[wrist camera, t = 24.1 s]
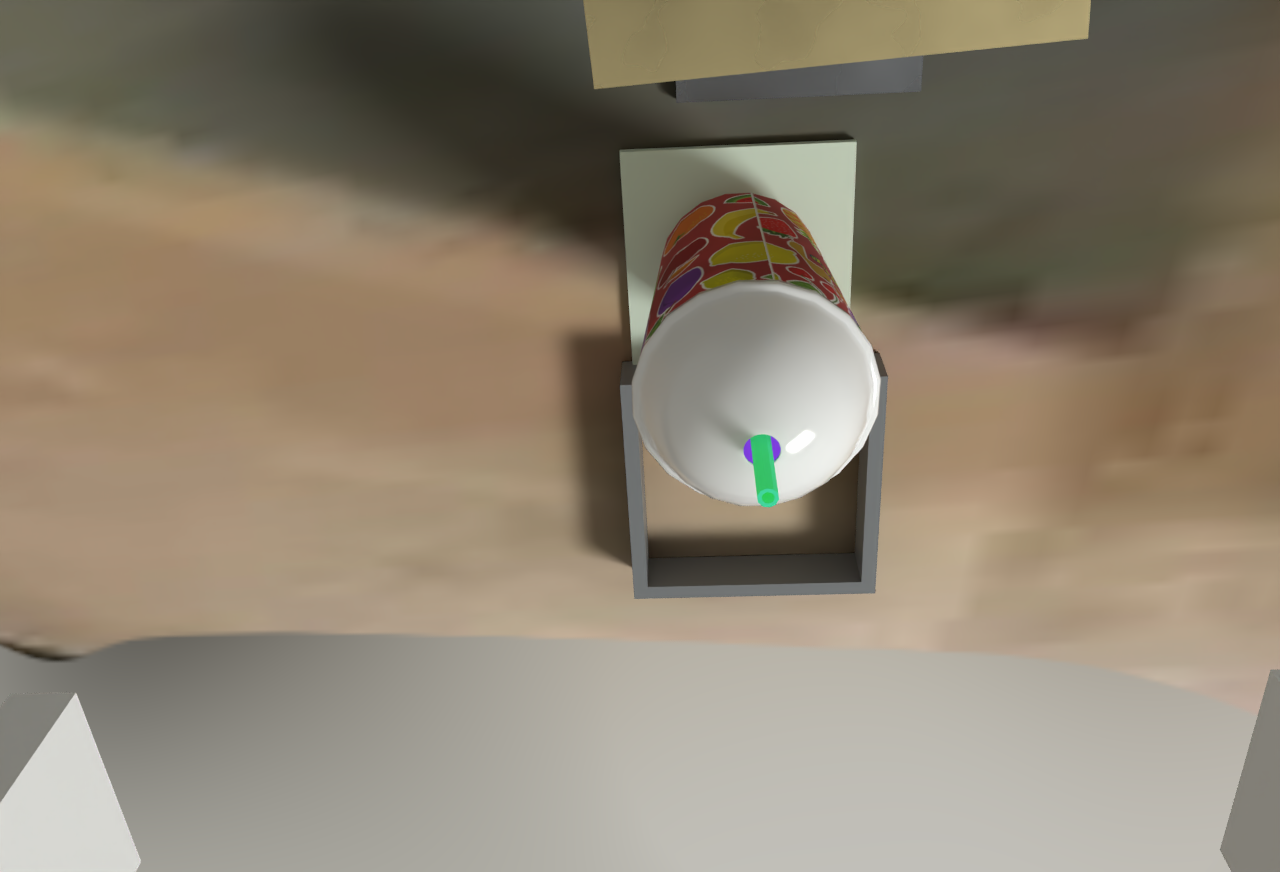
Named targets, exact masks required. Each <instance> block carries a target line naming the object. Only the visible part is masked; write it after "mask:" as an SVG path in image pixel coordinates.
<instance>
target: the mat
mask: <svg viewBox="0 0 1280 872" xmlns="http://www.w3.org/2000/svg"><path fill="white" fill-rule="evenodd" d="M856 145H857V141H856V140H855V139H851V140H828V141H806V142H783V143H761V144H738V145H716V146H693V147H671V148H648V149H626V150H620V168H621V185H622V201H623V217H624V233H625V249H626V265H627V282H628V298H629V314H630V330H631V346H632V363H633V365H637V364H638V361H639V358H640V354H641V349H642V345H643V340H644V336H645V331H646V327H647V322H648V318H649V313H650V309H651V304H652V300H653V295H654V290H655V286H656V281H657V277H658V272H659V268H660V263H661V258H662V255H663V251H664V248H665V244H666V241H667V238H668V236H669V235H670V233H671V232H672V231H673V229H674V228H675V226H676V225H677V223H678V222H679V220H680V219H681V218H682V217H683V216H685V215H686V214H687V213H688V212H690V211H691V210H692V209H693V208H695V207H696V206H697V205H699V204H700V203H702V202H704V201H707V200H710V199H713V198H715V197H718V196H721V195H724V194H735V193H753V194H757V195H761V196H764V197H768V198H772V199H775V200H777V201H778V202H780V203H781V204H783V205H784V206H786V207H787V208H789V209H790V210H792V211H793V212H795V213H796V214H797V215H798V217H799V218H800V219H801V221H802V222H803V223H804V225H805V226H806V227H807V229H808V230H809V231H810V233H811V235H812V237H813V239H814V241H815V243H816V245H817V247H818V249H819V250H820V252H821V254H822V256H823V258H824V260H825V262H826V264H827V266H828V268H829V270H830V272H831V273H832V275H833V277H834V279H835V281H836V283H837V285H838V287H839V289H840V291H841V293H842V295H843V296H844V298H845V300H846V302H847V304H848V306H849V308H850V294H851V269H852V244H853V219H854V194H855V169H856Z"/></svg>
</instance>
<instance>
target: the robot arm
mask: <svg viewBox="0 0 1280 872" xmlns="http://www.w3.org/2000/svg"><path fill="white" fill-rule="evenodd" d="M1220 850H1221V852H1222V854H1223V856H1224V858H1225V860H1226V862H1227V864H1228V866H1229V868H1230V870H1231V872H1280V670H1271V671H1270V674H1269V678H1268V681H1267V685H1266V688H1265V692H1264V695H1263V699H1262V703H1261V706H1260V710H1259V713H1258V717H1257V720H1256V724H1255V727H1254V731H1253V734H1252V738H1251V742H1250V745H1249V749H1248V752H1247V756H1246V759H1245V763H1244V767H1243V770H1242V774H1241V777H1240V781H1239V784H1238V788H1237V792H1236V795H1235V799H1234V802H1233V806H1232V809H1231V813H1230V816H1229V820H1228V823H1227V827H1226V830H1225V834H1224V838H1223V841H1222V845H1221V848H1220ZM140 862H141V860H140V857H139V855H138V852H137V850H136V847H135V845H134V842H133V839H132V837H131V834H130V832H129V829H128V826H127V824H126V821H125V819H124V816H123V813H122V811H121V808H120V806H119V803H118V800H117V798H116V795H115V793H114V790H113V787H112V785H111V782H110V780H109V777H108V775H107V772H106V770H105V767H104V764H103V762H102V759H101V756H100V754H99V751H98V749H97V746H96V743H95V741H94V738H93V736H92V733H91V730H90V728H89V725H88V723H87V721H86V717H85V715H84V712H83V710H82V707H81V704H80V702H79V699H78V697H77V694H76V693H29V694H10V695H9V696H8V698H7V699H6V700H5V701H4V703H3V704H2V705H1V707H0V872H136V870H137V868H138V866H139V864H140Z"/></svg>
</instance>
